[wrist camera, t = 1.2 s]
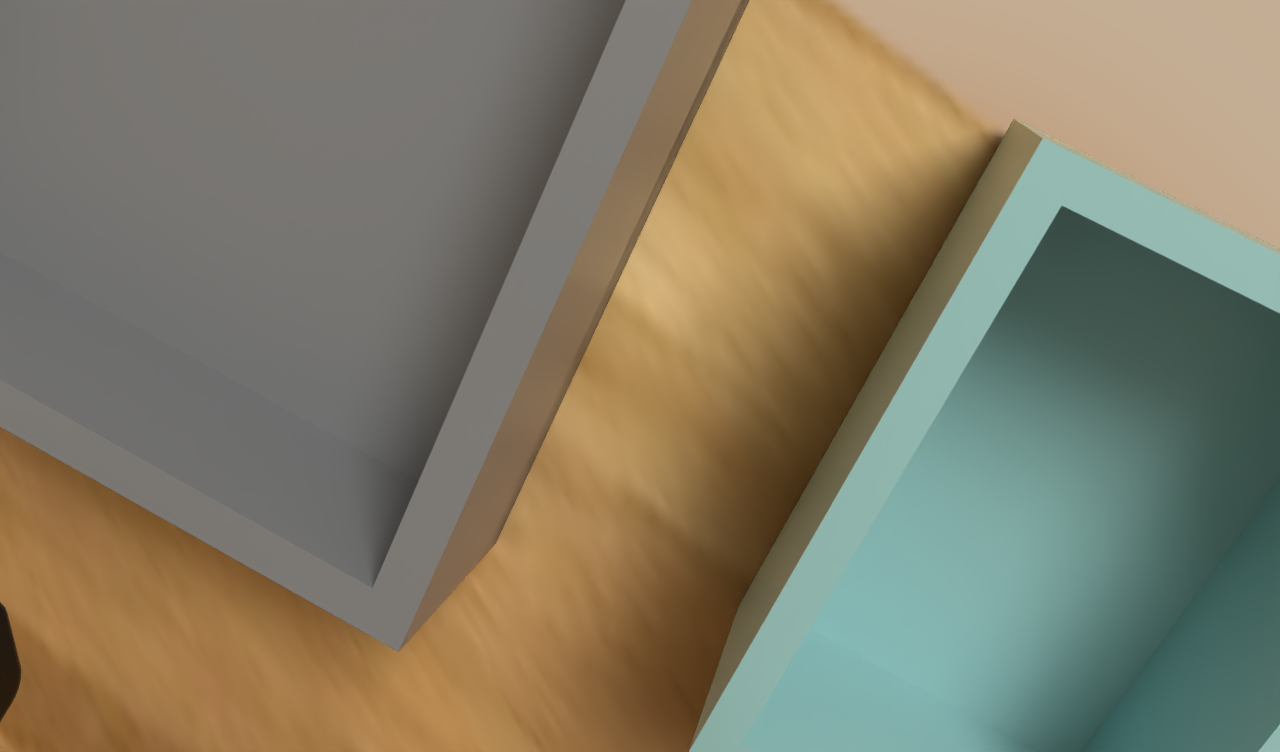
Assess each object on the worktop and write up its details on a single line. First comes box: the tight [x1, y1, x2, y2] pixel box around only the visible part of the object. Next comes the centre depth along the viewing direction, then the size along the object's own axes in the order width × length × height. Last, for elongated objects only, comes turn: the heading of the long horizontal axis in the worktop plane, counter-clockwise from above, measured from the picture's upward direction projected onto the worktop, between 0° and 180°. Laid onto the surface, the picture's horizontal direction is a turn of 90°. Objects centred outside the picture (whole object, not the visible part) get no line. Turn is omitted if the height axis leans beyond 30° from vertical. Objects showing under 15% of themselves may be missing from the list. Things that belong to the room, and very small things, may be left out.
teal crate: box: [688, 119, 1280, 752], centre depth 18 cm, size 7×10×5 cm
